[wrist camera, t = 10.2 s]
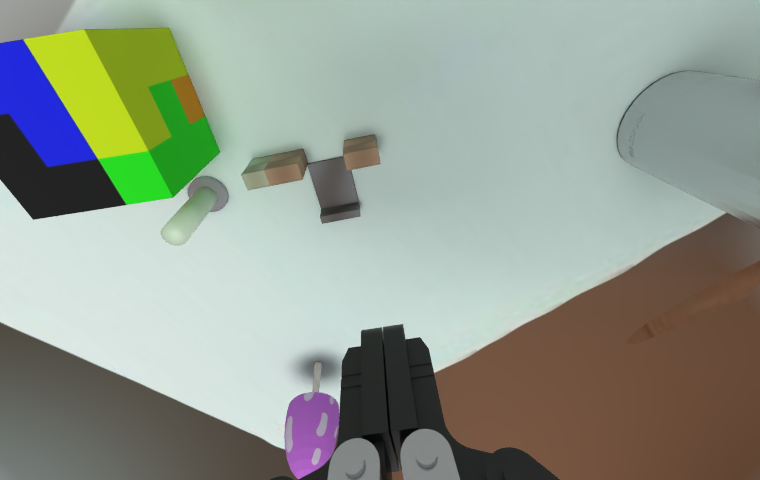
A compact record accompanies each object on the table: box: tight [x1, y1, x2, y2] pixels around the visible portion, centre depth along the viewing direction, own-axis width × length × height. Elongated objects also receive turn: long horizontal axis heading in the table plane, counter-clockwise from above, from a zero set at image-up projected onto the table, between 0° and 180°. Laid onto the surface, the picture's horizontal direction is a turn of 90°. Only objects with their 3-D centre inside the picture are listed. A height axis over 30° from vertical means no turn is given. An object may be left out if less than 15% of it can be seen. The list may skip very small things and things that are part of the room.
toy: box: [285, 362, 339, 479], centre depth 43 cm, size 7×7×15 cm
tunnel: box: [241, 134, 380, 224], centre depth 28 cm, size 12×22×4 cm, turn 10°
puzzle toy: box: [0, 28, 220, 220], centre depth 25 cm, size 10×10×10 cm
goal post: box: [161, 177, 228, 246], centre depth 30 cm, size 4×4×8 cm
